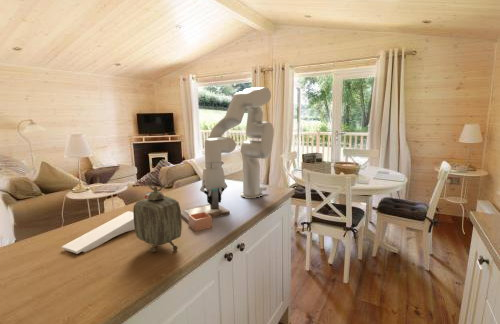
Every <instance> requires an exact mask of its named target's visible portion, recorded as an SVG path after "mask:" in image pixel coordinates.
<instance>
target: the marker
mask: <svg viewBox="0 0 500 324" xmlns="http://www.w3.org/2000/svg"><path fill="white" fill-rule="evenodd" d="M211 196H212V204H210V208H211V209H218V208H219V205H220V204H219V194H218V188H217V189H212V190H211Z"/></svg>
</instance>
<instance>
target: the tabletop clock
mask: <svg viewBox="0 0 500 324" xmlns="http://www.w3.org/2000/svg"><path fill="white" fill-rule="evenodd" d="M152 181H156V182H158V184H159V185H160V188H158V186H154V187H152V186H151V182H152ZM147 185H148V188H149V189H151V190H152V191H151V192H152V193H150V195H149V196H148V199H144V198H143V199H141V200H139V201H137V202H135V204H134V205H133V211H132V212H133V214H134V227H135V230H134V232H135V236H136V238H137V239H138V240H140V241H142V242H145V243H147V244H150V245H153V247H151V250H150V251H151V253H155V252H157V248H156V246H164V245H166V244H168V243H169V244H170V245H171V246H172V249H173V251H177V250H178V245H175V244H174V243H173V241H174V240H177V239H178V238H181V235H182V231H183V230H182V229H183V228H182V227H183V226H182V225H183V224H182V223H183V222H182V221H183V220H182V219H183V218H182V217H181V205H180V203H179V201H178V200H176V199H175V198H173V197H169V196H167V195H164V194H163V193H162V189H163V184H162V182H161V180H160V179H158V178H154V177H153V178H152V177H151V178H150V179H149V180H148V184H147Z"/></svg>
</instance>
